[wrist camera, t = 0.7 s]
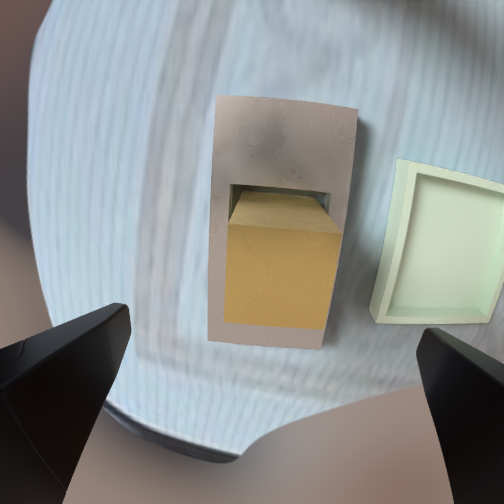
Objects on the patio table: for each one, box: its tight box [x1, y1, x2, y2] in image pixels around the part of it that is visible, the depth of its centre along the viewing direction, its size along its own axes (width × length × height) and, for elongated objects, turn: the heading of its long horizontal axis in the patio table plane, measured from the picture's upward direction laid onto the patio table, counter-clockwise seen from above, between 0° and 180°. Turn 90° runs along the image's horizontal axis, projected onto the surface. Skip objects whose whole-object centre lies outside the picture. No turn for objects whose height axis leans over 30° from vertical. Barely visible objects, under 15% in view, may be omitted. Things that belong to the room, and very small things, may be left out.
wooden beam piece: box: [224, 191, 342, 330], centre depth 17 cm, size 4×4×8 cm
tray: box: [368, 158, 504, 324], centre depth 19 cm, size 11×11×2 cm
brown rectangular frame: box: [208, 95, 358, 349], centre depth 20 cm, size 8×16×2 cm, turn 176°
